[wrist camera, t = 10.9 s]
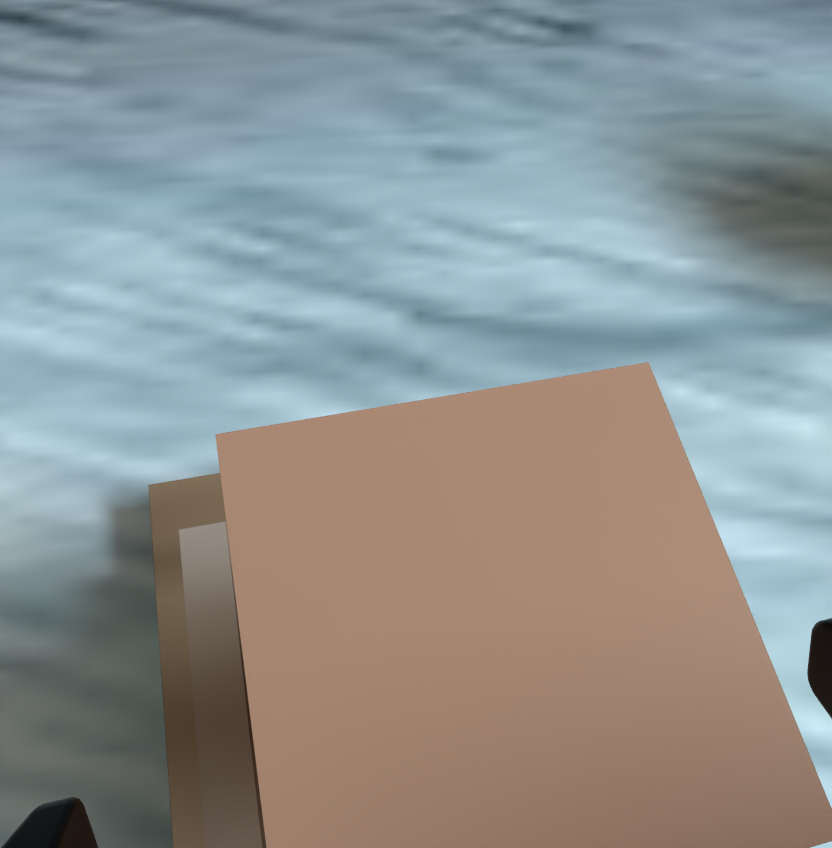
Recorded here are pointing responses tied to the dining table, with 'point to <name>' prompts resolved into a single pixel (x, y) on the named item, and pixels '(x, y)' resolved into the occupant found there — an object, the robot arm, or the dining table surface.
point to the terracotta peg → (504, 631)
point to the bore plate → (203, 671)
